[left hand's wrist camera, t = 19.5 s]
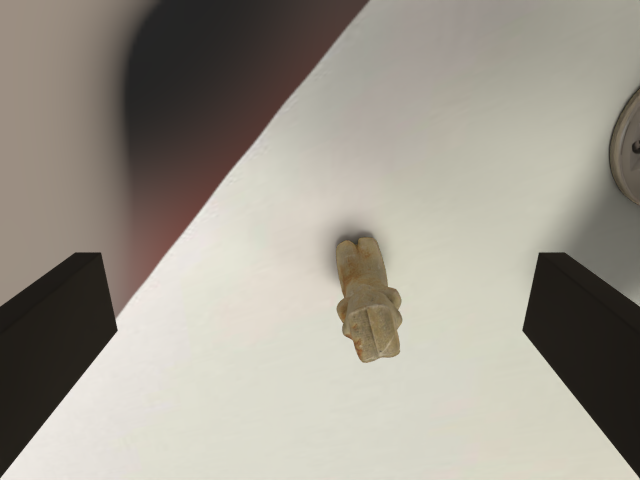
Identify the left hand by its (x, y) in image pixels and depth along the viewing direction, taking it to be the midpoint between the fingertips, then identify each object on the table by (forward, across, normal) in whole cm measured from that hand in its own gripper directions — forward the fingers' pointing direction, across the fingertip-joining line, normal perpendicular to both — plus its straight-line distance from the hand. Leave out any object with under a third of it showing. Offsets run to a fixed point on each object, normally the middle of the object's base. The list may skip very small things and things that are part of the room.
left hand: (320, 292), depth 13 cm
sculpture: (+30, +4, -13) cm, 33 cm away
